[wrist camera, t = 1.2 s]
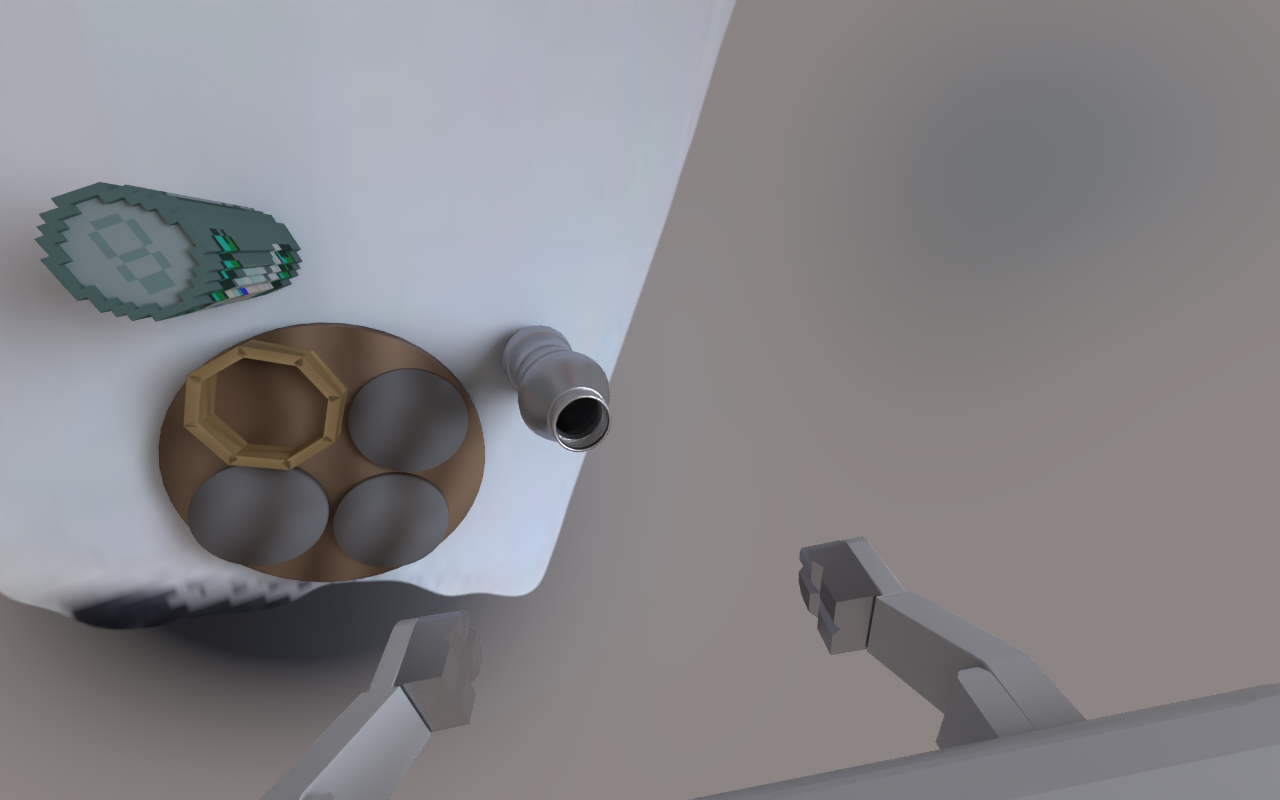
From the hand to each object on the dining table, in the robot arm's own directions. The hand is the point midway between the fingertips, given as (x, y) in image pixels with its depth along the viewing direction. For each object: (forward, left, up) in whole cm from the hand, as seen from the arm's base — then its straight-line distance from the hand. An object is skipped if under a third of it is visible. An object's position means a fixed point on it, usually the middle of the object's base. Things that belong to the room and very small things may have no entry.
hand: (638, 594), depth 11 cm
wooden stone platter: (-11, -14, -37) cm, 41 cm away
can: (-19, +2, -37) cm, 42 cm away
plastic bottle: (+3, -1, -37) cm, 37 cm away
